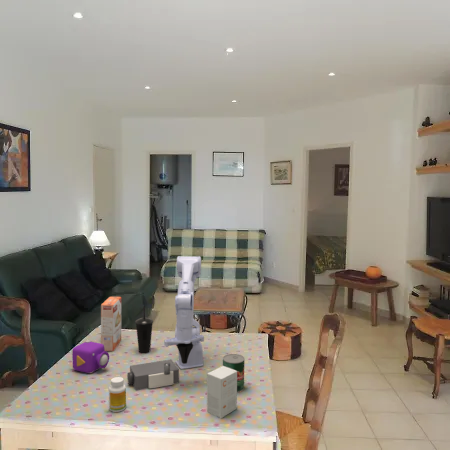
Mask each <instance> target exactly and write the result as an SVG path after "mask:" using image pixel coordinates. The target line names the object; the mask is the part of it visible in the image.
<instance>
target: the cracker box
mask: <svg viewBox="0 0 450 450" xmlns="http://www.w3.org/2000/svg"><path fill="white" fill-rule="evenodd" d="M120 342H122V297H121V296H109V297H108V298H107V299H106V300H104V302H103V303H101V305H100V343H101V344H103V345H104V350H105V351H106V352H114V351H115V349H116V348H117V347H118V345H119V344H120Z"/></svg>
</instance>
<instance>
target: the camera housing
mask: <svg viewBox="0 0 450 450" xmlns="http://www.w3.org/2000/svg"><path fill="white" fill-rule="evenodd" d="M165 363H170V371H173V385H174V384H179V383H180V369H179V367H178V365H177V364H176V363H175V361H173V360H172V359H165V360H159V361H151V362H144V363H139V364H132V365H129V372H127V374H126V375H127V376H126V379H127V384H128V385H132V386H133V387H134V390H135V391H139V390H145V389H149V388H148V375H152V374H158V373H164V364H165Z"/></svg>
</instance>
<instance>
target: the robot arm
mask: <svg viewBox="0 0 450 450" xmlns="http://www.w3.org/2000/svg"><path fill="white" fill-rule="evenodd" d="M201 270H202V257H201V256H200V255H198V256H195V255H194V256H190V255H187V256H186V255H184V256H181V255H178V256H177V257H176V272H177V275H178V278H180V279H181V280H180V281H179V283H178V286H177V287H178V288H177V294H176V295H175V299H174V307H175V316H176V324H175V329H174V330H175V331H174V337H171V338H167V339H164V340H163V341H164V347H165V348H166V347H167V348H168V347H169V346H176V348H177V350H178V360H175V361H174V363H175V364H176V366H177V367H178V368H180V369H179V370H185V369H192V368H197V367H199V368H200V367H204V364H203V362H204V361H203V360H204V359H203V358H204V354H203V353H204V350H203V345H202V342H205V337H204V335H202V334H201V326H200V323H199V321H197V320H196V319H195V318H194V312H195V311H194V309H195V307H194V305H195V283H196V280H197V279H198V278H200V277H201Z"/></svg>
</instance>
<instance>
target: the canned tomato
mask: <svg viewBox="0 0 450 450" xmlns="http://www.w3.org/2000/svg"><path fill="white" fill-rule="evenodd" d="M245 359H246V358H245V356H243V355H241V354H238V353H230V354H225V355H224V356H223V357H222V366H225V367H228V368H231V369H233V370H236V371H237V393H240V391H241V392H242V391H244V389H245V361H246V360H245Z"/></svg>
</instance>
